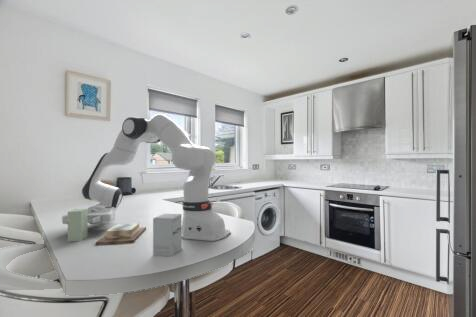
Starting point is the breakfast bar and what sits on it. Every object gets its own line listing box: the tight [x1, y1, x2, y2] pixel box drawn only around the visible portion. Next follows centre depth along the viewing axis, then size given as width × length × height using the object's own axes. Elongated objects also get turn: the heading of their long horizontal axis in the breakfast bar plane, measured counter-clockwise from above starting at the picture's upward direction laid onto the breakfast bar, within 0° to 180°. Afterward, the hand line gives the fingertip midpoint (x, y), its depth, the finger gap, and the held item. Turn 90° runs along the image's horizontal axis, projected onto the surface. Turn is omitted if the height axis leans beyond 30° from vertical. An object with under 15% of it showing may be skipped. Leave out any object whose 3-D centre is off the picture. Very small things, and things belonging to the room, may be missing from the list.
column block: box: [67, 208, 89, 242], centre depth 93 cm, size 5×5×12 cm
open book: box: [94, 223, 147, 246], centre depth 96 cm, size 14×18×4 cm
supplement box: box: [152, 213, 183, 257], centre depth 78 cm, size 7×7×13 cm
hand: (79, 221), depth 95 cm, fingers open, 8 cm apart
